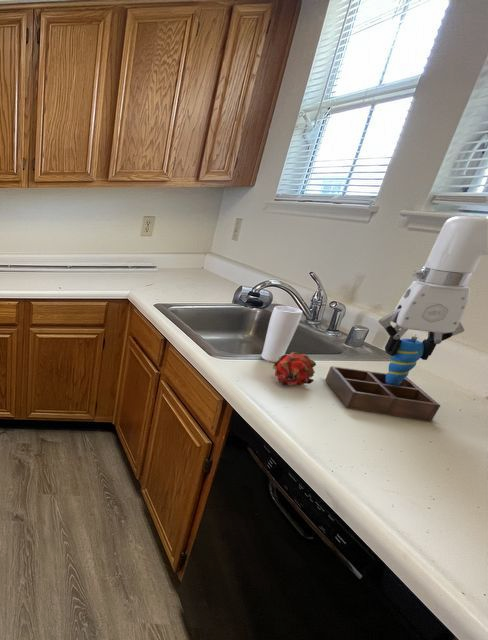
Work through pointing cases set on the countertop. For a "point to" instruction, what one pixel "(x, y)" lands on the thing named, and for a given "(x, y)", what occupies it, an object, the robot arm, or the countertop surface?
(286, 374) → the dragon fruit
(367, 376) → the divided tray
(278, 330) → the drinking glass
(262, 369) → the countertop surface
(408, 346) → the ornament
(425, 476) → the countertop surface
